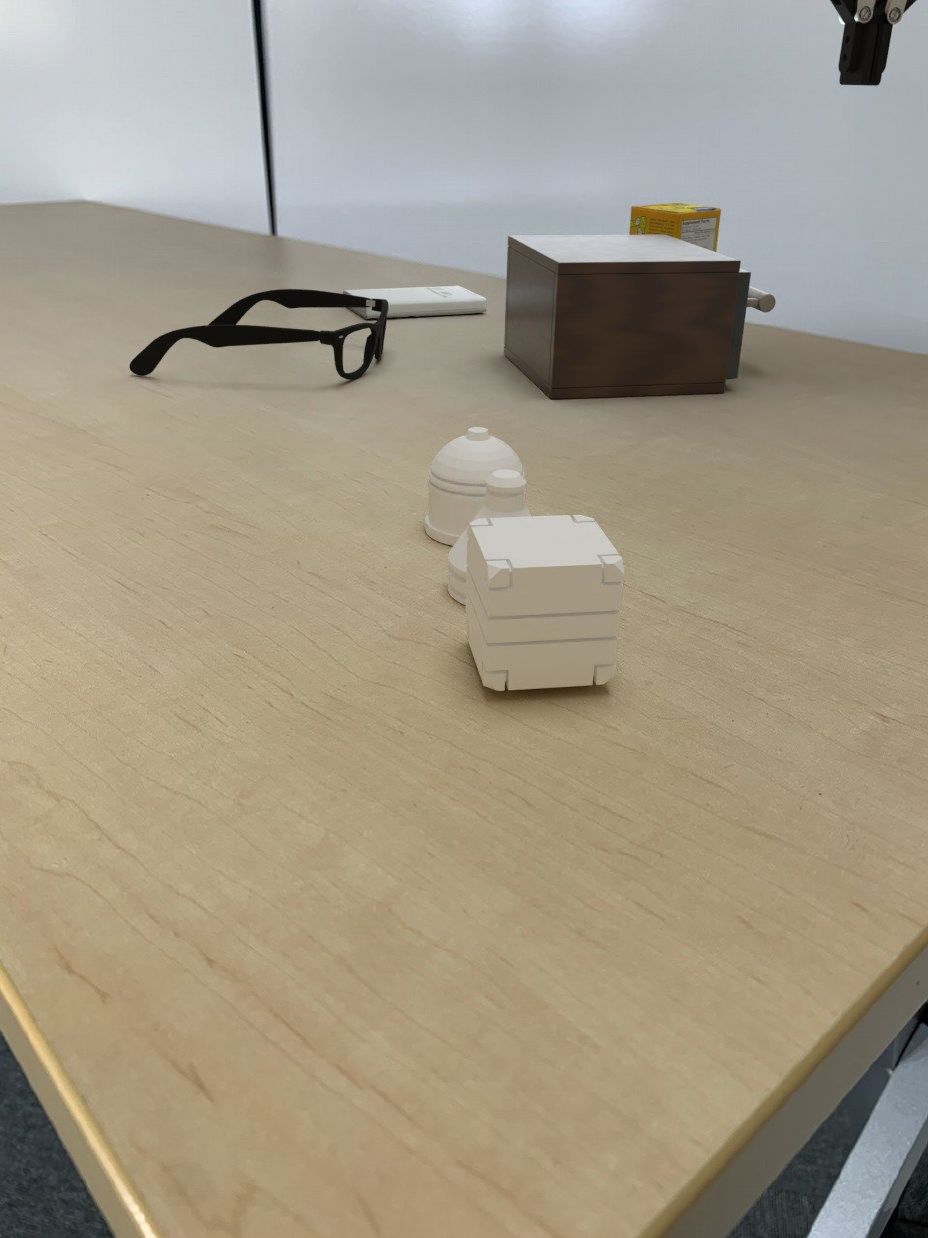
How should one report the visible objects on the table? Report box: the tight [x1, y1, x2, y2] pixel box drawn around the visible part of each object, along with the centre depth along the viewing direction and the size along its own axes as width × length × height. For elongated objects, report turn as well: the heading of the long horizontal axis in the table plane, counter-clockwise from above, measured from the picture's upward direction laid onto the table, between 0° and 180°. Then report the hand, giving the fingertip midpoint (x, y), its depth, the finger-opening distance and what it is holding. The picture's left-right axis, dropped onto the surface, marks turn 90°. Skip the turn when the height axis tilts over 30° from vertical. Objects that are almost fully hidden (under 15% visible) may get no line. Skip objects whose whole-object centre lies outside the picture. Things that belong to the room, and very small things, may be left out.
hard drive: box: [342, 285, 488, 320], centre depth 110 cm, size 2×8×12 cm
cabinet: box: [503, 234, 742, 400], centre depth 86 cm, size 14×15×10 cm
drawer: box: [726, 268, 777, 380], centre depth 87 cm, size 17×13×8 cm
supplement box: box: [628, 202, 722, 252], centre depth 102 cm, size 6×6×11 cm
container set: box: [424, 426, 626, 692], centre depth 49 cm, size 20×5×6 cm, turn 9°
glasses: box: [128, 288, 388, 381], centre depth 88 cm, size 17×18×5 cm
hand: (859, 84), depth 82 cm, fingers closed
